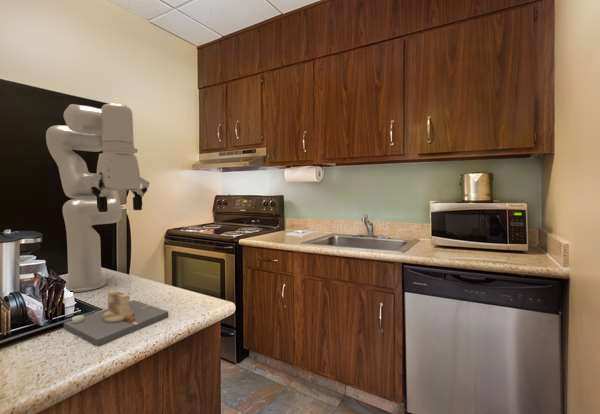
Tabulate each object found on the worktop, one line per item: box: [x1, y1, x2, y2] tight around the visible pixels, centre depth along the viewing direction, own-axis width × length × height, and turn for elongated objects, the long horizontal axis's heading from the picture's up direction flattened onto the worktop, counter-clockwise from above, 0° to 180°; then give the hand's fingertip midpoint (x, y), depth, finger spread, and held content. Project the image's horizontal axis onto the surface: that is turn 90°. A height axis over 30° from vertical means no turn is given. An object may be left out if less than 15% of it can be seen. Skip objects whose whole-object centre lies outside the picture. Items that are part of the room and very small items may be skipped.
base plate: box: [63, 299, 169, 347], centre depth 78 cm, size 16×18×3 cm
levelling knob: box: [103, 290, 135, 323], centre depth 77 cm, size 10×7×6 cm
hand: (121, 210), depth 84 cm, fingers open, 9 cm apart
